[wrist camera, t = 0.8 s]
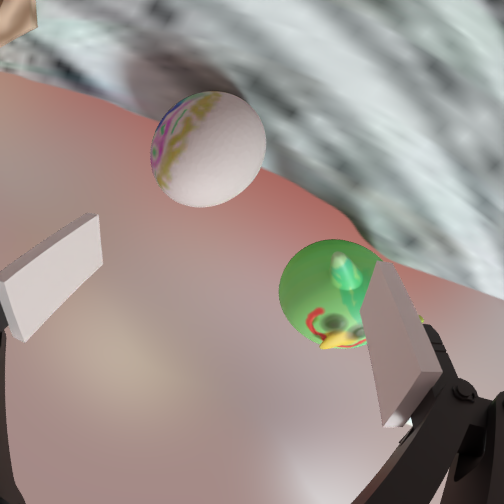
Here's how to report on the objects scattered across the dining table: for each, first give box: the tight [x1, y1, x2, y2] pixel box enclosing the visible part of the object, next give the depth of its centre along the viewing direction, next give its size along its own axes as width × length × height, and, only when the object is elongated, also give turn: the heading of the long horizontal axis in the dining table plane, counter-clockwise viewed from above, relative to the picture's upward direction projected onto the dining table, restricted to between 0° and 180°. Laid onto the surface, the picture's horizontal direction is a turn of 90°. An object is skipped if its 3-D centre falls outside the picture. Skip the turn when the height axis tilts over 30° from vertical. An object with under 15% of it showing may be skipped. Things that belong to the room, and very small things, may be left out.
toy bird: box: [279, 239, 424, 349], centre depth 43 cm, size 18×17×15 cm
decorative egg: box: [150, 91, 266, 207], centre depth 32 cm, size 12×12×15 cm
